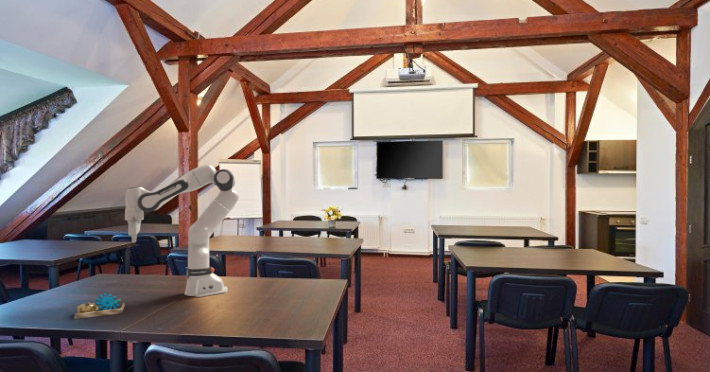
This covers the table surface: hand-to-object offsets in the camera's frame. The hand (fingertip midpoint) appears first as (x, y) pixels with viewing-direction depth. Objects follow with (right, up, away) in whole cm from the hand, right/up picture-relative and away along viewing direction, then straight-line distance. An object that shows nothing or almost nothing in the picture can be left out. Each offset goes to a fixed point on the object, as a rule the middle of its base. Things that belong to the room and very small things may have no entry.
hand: (134, 242), depth 202 cm
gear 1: (-5, -29, -29) cm, 41 cm away
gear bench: (0, -29, -27) cm, 39 cm away
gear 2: (+2, -29, -24) cm, 37 cm away
